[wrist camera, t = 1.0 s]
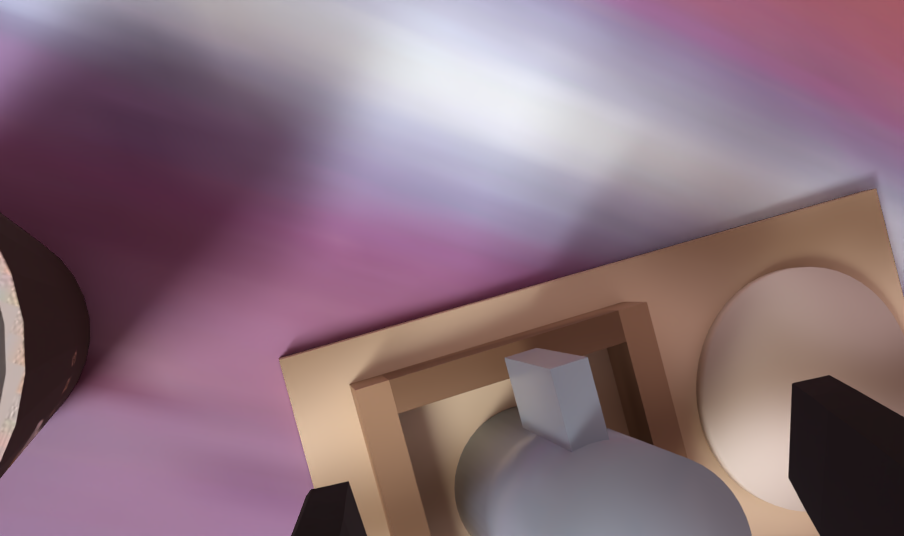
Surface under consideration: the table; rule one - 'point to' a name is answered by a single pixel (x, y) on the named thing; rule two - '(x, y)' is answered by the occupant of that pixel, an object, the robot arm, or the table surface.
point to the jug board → (622, 364)
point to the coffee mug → (35, 338)
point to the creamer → (580, 467)
